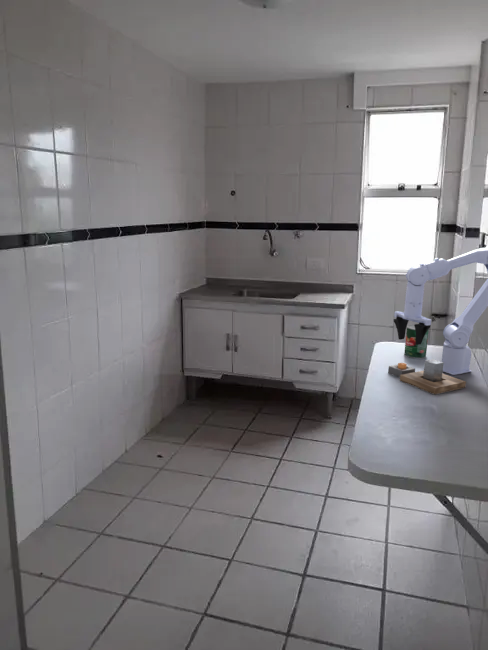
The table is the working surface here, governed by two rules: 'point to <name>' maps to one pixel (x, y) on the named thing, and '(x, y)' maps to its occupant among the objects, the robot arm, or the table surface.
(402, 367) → the button cap
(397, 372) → the button housing
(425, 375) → the billet
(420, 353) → the canned tomato
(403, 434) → the table surface
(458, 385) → the wooden board
